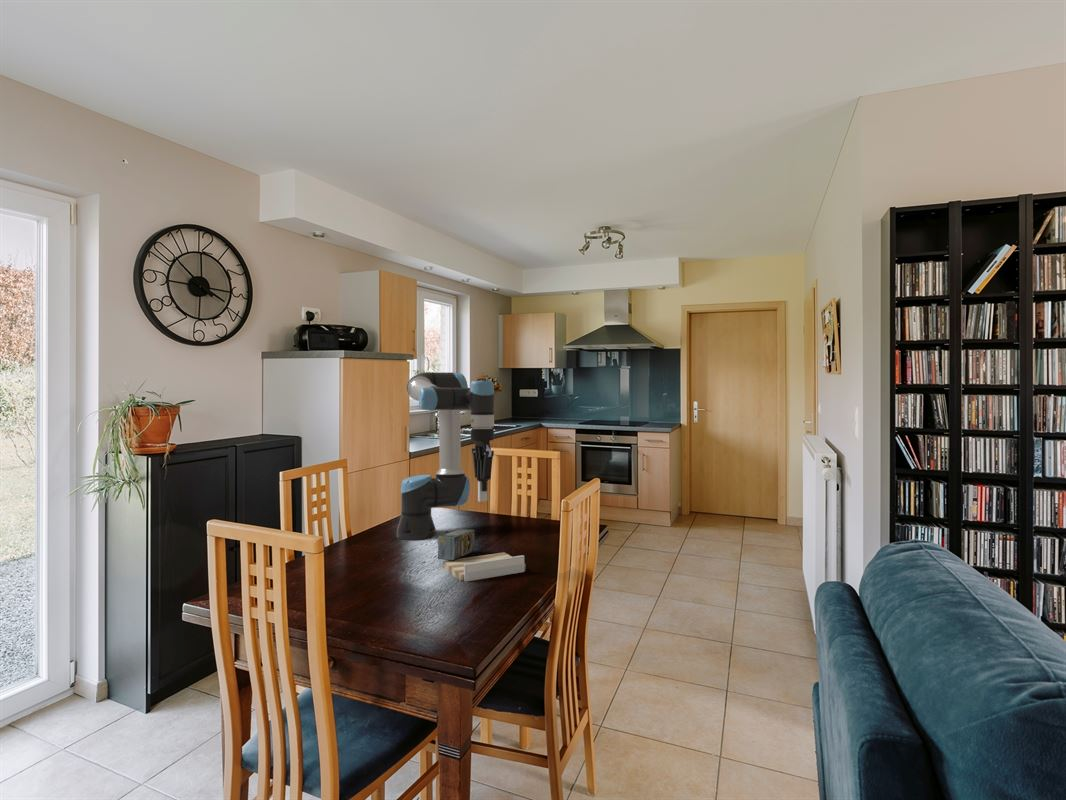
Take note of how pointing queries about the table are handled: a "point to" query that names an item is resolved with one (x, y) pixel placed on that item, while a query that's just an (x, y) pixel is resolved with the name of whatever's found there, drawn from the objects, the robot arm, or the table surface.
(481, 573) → the rail
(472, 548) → the beverage carton
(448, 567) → the shelf board
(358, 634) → the table surface
